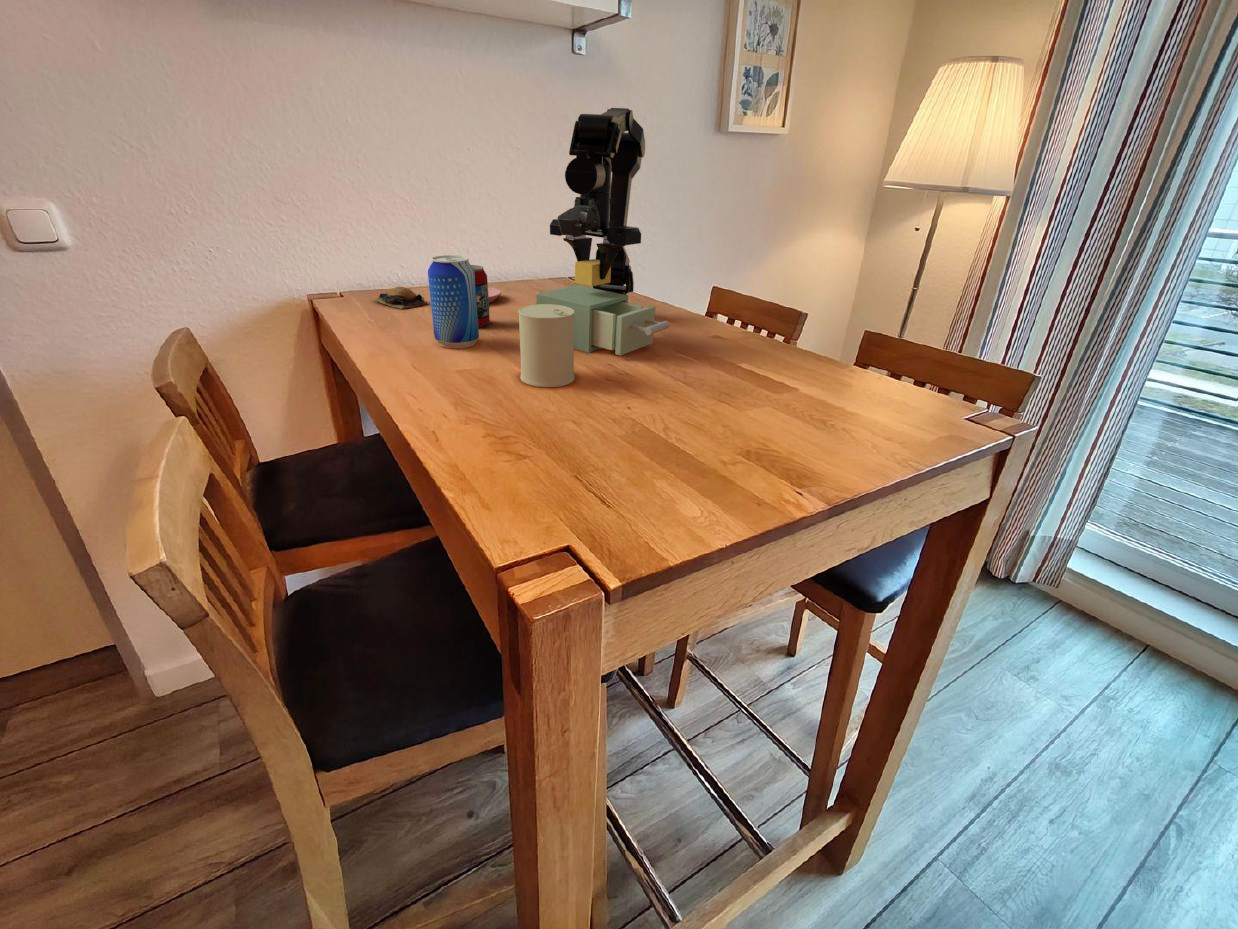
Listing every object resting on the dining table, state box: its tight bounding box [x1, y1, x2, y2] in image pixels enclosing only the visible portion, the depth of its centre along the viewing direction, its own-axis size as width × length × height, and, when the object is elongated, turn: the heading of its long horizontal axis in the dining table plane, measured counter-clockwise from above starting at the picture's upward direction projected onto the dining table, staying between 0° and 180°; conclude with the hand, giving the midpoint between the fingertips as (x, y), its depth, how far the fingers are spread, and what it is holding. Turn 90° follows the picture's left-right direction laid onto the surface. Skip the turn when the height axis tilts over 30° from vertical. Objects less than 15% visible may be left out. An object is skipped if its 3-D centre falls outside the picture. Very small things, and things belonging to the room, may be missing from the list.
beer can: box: [427, 254, 480, 350], centre depth 111 cm, size 8×8×16 cm
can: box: [517, 303, 575, 388], centre depth 97 cm, size 9×9×12 cm
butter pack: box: [574, 258, 611, 287], centre depth 117 cm, size 4×6×4 cm
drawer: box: [591, 302, 671, 356], centre depth 114 cm, size 17×11×7 cm, turn 54°
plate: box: [488, 286, 502, 304], centre depth 147 cm, size 14×14×2 cm
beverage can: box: [470, 264, 491, 328], centre depth 125 cm, size 7×7×12 cm
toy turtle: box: [374, 286, 428, 310], centre depth 140 cm, size 11×8×4 cm
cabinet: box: [535, 284, 629, 354], centre depth 119 cm, size 14×13×9 cm
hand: (593, 277), depth 117 cm, fingers closed on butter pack, 4 cm apart
